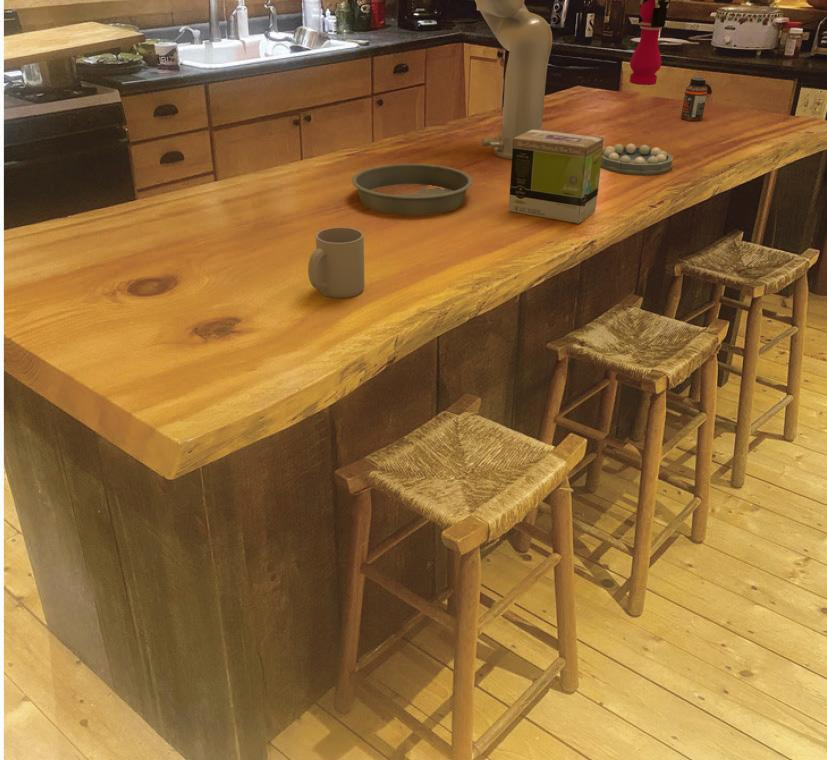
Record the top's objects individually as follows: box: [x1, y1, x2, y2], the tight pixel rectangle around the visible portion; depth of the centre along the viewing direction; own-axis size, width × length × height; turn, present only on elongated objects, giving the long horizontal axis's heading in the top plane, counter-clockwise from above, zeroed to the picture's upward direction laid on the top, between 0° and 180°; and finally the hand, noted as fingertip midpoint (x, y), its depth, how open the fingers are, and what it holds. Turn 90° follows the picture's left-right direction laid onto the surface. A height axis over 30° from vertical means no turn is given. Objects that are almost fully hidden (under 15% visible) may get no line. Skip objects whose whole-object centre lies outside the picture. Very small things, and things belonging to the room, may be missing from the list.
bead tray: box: [600, 142, 674, 177], centre depth 195 cm, size 17×17×4 cm
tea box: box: [508, 129, 605, 224], centre depth 162 cm, size 15×10×15 cm
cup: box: [307, 226, 365, 299], centre depth 127 cm, size 7×10×9 cm
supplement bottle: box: [680, 76, 708, 122], centre depth 237 cm, size 6×6×11 cm
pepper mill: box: [629, 0, 663, 86], centre depth 196 cm, size 7×7×20 cm
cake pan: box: [351, 163, 473, 217], centre depth 171 cm, size 25×25×4 cm
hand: (651, 24), depth 194 cm, fingers closed on pepper mill, 6 cm apart
